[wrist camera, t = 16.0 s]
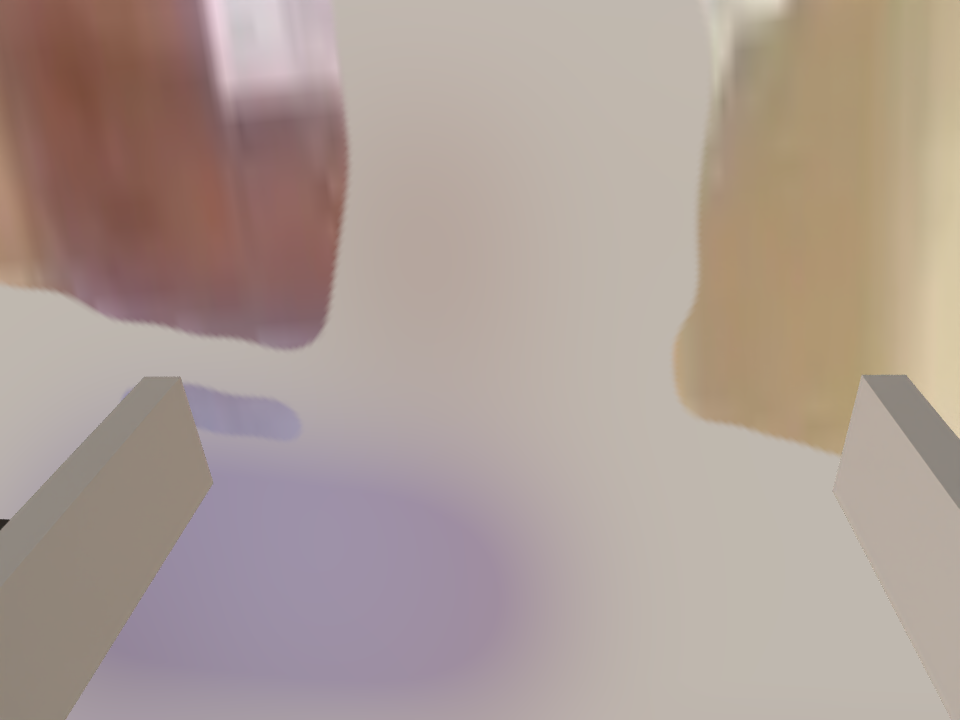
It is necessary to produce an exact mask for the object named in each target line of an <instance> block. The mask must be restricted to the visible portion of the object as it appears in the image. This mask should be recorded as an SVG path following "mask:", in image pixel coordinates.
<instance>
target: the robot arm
mask: <svg viewBox="0 0 960 720" xmlns="http://www.w3.org/2000/svg"><path fill="white" fill-rule="evenodd" d="M212 484H213V480H212V477H211V474H210V470H209V467H208V464H207V461H206V457H205V454H204V451H203V448H202V445H201V441H200V438H199V435H198V432H197V429H196V425H195V422H194V419H193V416H192V412H191V409H190V406H189V403H188V400H187V396H186V393H185V390H184V387H183V384H182V380H181V377H144V378H143V379H142V380H141V381H140V382H139V383H138V384H137V385H136V386H135V387H134V388H133V390H132V391H131V392H130V393H129V394H128V395H127V396H126V397H125V398H124V399H123V400H122V401H121V402H120V403H119V404H118V406H117V407H116V408H115V409H114V410H113V411H112V412H111V413H110V414H109V415H108V416H107V417H106V418H105V419H104V420H103V422H102V423H101V424H100V425H99V426H98V427H97V428H96V429H95V430H94V431H93V432H92V433H91V434H90V436H88V437H87V439H86V440H85V441H84V442H83V443H82V444H81V445H80V446H79V447H78V448H77V449H76V450H75V451H74V452H73V453H72V455H71V456H70V457H69V458H68V459H67V460H66V461H65V462H64V463H63V464H62V465H61V466H60V467H59V468H58V470H57V471H56V472H55V473H54V474H53V475H52V476H51V477H50V478H49V479H48V480H47V481H46V482H45V483H44V484H43V485H42V487H41V488H40V489H39V490H38V491H37V492H36V493H35V494H34V495H33V496H32V497H31V498H30V499H29V500H28V501H27V503H26V504H25V505H24V506H23V507H22V508H21V509H20V510H19V511H18V512H17V513H16V514H15V515H14V516H13V517H12V518H11V520H5V519H0V720H65V719H66V718H67V716H68V715H69V713H70V712H71V710H72V708H73V707H74V705H75V704H76V702H77V700H78V699H79V697H80V695H81V694H82V692H83V691H84V689H85V687H86V686H87V684H88V683H89V681H90V679H91V678H92V676H93V675H94V673H95V672H96V670H97V668H98V667H99V665H100V663H101V662H102V660H103V659H104V657H105V655H106V654H107V652H108V651H109V649H110V647H111V646H112V644H113V643H114V641H115V640H116V638H117V636H118V635H119V633H120V631H121V630H122V628H123V627H124V625H125V624H126V622H127V620H128V618H129V617H130V616H131V614H132V612H133V611H134V609H135V608H136V606H137V604H138V603H139V601H140V600H141V598H142V596H143V595H144V593H145V592H146V590H147V588H148V586H149V585H150V584H151V582H152V580H153V579H154V577H155V575H156V574H157V572H158V571H159V569H160V567H161V566H162V564H163V562H164V561H165V560H166V558H167V556H168V555H169V553H170V551H171V550H172V548H173V547H174V545H175V543H176V542H177V540H178V539H179V537H180V535H181V534H182V532H183V531H184V529H185V528H186V526H187V524H188V523H189V521H190V520H191V518H192V516H193V515H194V513H195V512H196V510H197V508H198V507H199V505H200V503H201V502H202V500H203V499H204V497H205V495H206V494H207V492H208V491H209V489H210V487H211V486H212ZM833 493H834V495H835V496H836V498H837V500H838V502H839V504H840V506H841V508H842V510H843V512H844V514H845V516H846V518H847V519H848V521H849V523H850V525H851V527H852V529H853V531H854V533H855V535H856V537H857V539H858V541H859V543H860V545H861V547H862V548H863V550H864V552H865V554H866V556H867V558H868V560H869V562H870V564H871V566H872V568H873V570H874V572H875V573H876V575H877V577H878V579H879V581H880V583H881V585H882V587H883V589H884V591H885V592H886V595H887V597H888V599H889V600H890V602H891V604H892V606H893V608H894V610H895V612H896V614H897V616H898V618H899V620H900V622H901V624H902V625H903V627H904V629H905V631H906V633H907V635H908V637H909V639H910V641H911V643H912V645H913V647H914V648H915V651H916V653H917V654H918V656H919V658H920V660H921V662H922V664H923V666H924V668H925V670H926V672H927V674H928V675H929V678H930V680H931V681H932V683H933V685H934V687H935V689H936V691H937V693H938V695H939V697H940V699H941V701H942V703H943V705H944V706H945V708H946V710H947V712H948V714H949V716H950V718H951V720H960V440H959V438H958V437H957V436H956V435H955V434H954V432H953V431H952V430H951V429H950V427H949V426H948V425H947V424H946V423H945V421H944V420H943V419H942V418H941V417H940V415H939V414H938V413H937V412H936V411H935V409H934V408H933V407H932V406H931V405H930V403H929V402H928V401H927V400H926V399H925V397H924V396H923V395H922V394H921V393H920V391H919V390H918V389H917V388H916V386H915V385H914V384H913V383H912V382H911V380H910V379H909V378H908V377H907V376H906V375H862V376H861V380H860V384H859V388H858V392H857V396H856V400H855V404H854V408H853V412H852V416H851V420H850V424H849V428H848V432H847V436H846V440H845V444H844V448H843V452H842V456H841V460H840V464H839V468H838V472H837V476H836V480H835V484H834V488H833Z"/></svg>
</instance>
